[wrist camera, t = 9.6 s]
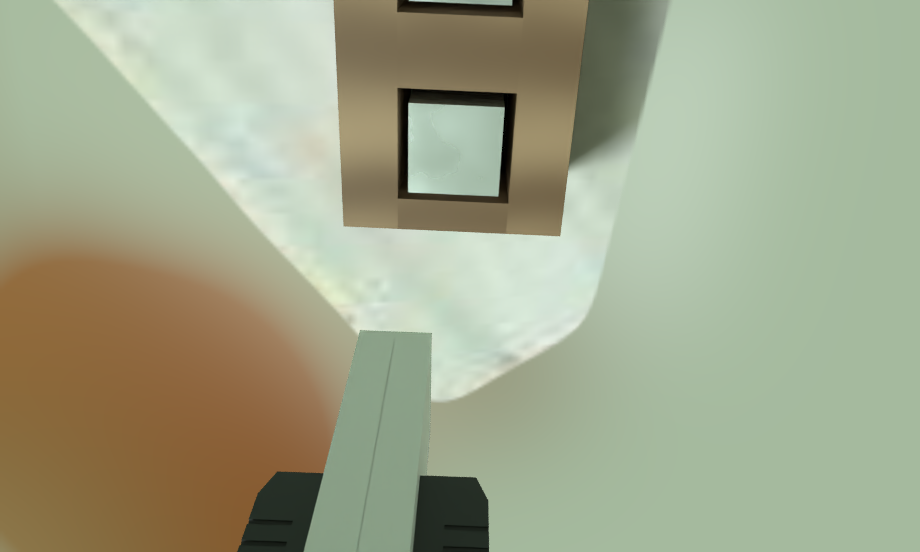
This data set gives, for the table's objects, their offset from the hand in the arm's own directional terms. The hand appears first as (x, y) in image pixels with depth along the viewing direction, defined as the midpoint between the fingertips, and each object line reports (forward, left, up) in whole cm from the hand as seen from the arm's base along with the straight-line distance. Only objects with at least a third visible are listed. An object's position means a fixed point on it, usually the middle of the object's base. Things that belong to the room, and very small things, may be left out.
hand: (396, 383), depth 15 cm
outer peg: (+1, +1, -23) cm, 23 cm away
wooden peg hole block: (-3, +1, -24) cm, 25 cm away
